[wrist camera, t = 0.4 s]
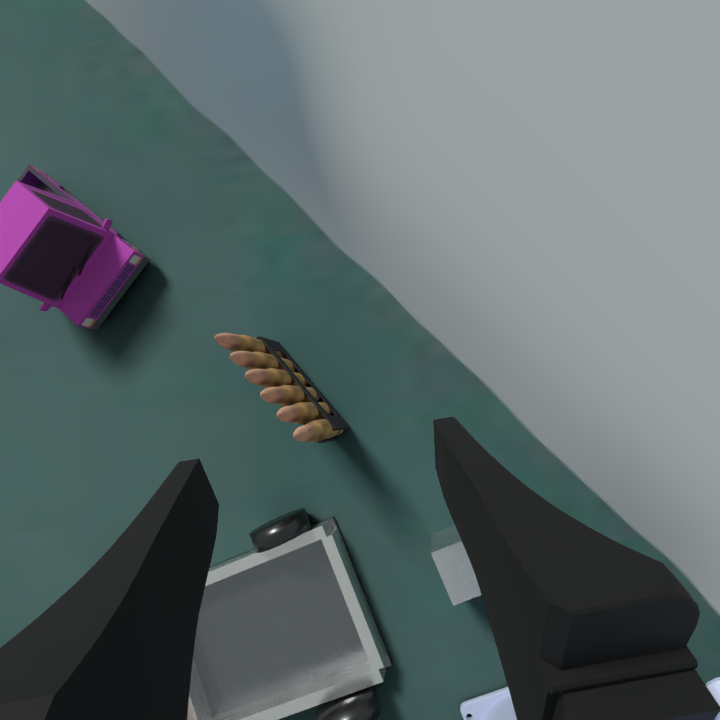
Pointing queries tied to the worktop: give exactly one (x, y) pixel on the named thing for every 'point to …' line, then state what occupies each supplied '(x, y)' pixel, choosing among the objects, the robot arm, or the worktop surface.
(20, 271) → the toy truck
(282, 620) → the chassis
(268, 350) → the ammunition clip
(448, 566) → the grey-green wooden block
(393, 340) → the worktop surface
